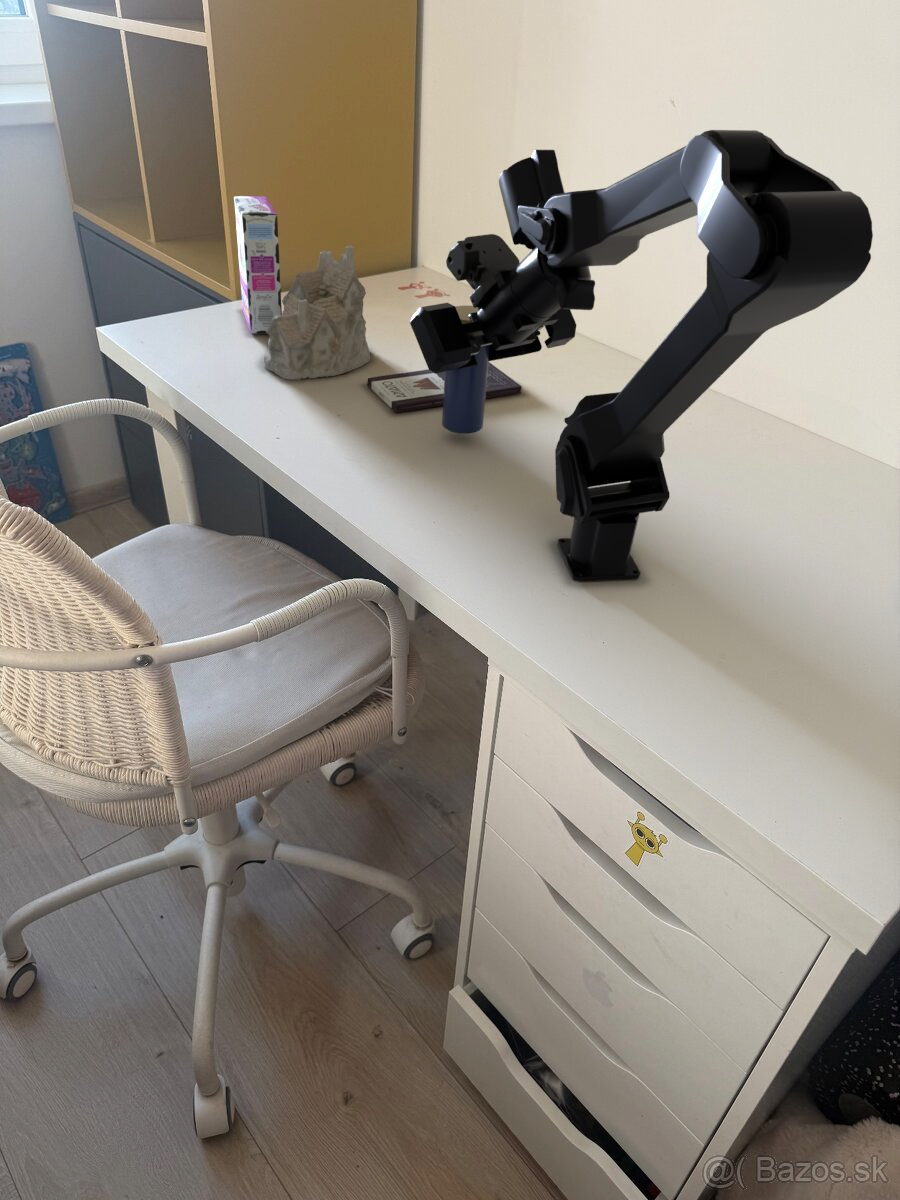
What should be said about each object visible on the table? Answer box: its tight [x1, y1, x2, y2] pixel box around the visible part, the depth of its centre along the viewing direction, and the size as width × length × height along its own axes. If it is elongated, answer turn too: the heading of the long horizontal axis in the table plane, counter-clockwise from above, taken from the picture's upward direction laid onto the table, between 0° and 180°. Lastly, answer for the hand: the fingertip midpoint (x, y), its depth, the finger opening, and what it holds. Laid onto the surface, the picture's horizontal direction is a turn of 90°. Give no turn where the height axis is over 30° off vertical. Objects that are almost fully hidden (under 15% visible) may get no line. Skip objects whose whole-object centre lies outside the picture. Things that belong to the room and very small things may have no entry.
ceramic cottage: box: [263, 245, 371, 381], centre depth 111 cm, size 16×16×15 cm
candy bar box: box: [233, 195, 283, 335], centre depth 119 cm, size 11×5×16 cm, turn 17°
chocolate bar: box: [367, 361, 522, 414], centre depth 108 cm, size 9×1×18 cm
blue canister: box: [441, 305, 490, 435], centre depth 93 cm, size 5×5×13 cm
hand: (459, 362), depth 93 cm, fingers closed on blue canister, 5 cm apart
